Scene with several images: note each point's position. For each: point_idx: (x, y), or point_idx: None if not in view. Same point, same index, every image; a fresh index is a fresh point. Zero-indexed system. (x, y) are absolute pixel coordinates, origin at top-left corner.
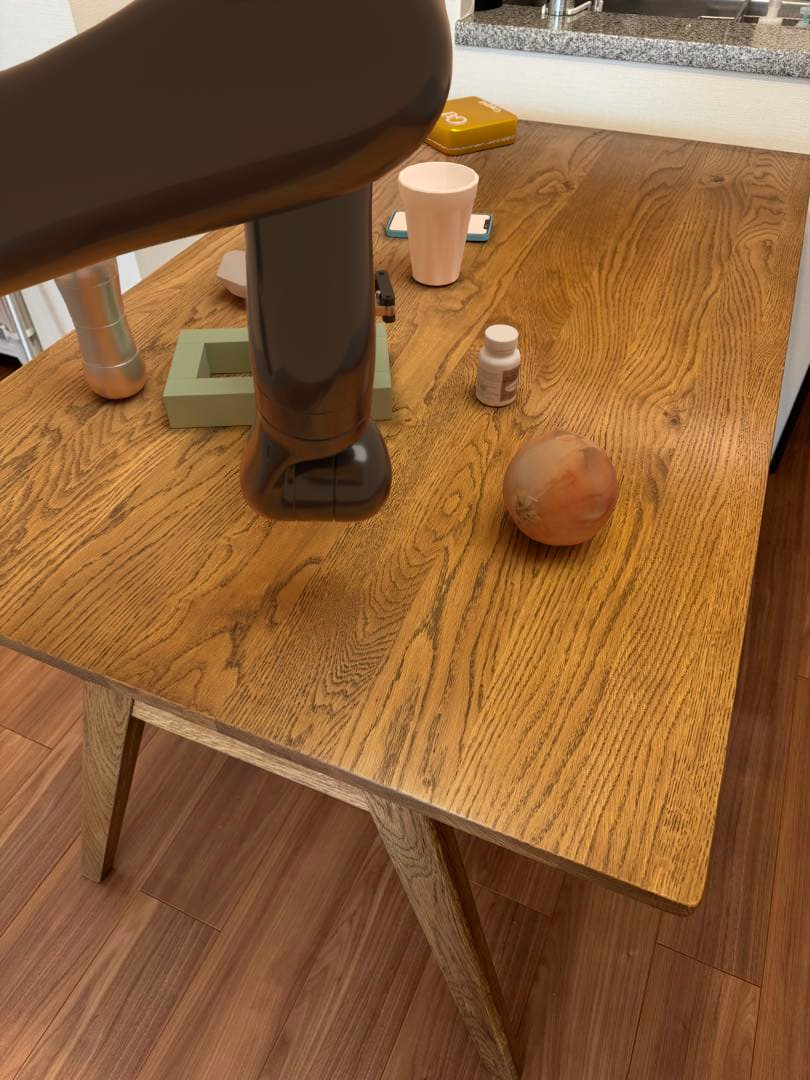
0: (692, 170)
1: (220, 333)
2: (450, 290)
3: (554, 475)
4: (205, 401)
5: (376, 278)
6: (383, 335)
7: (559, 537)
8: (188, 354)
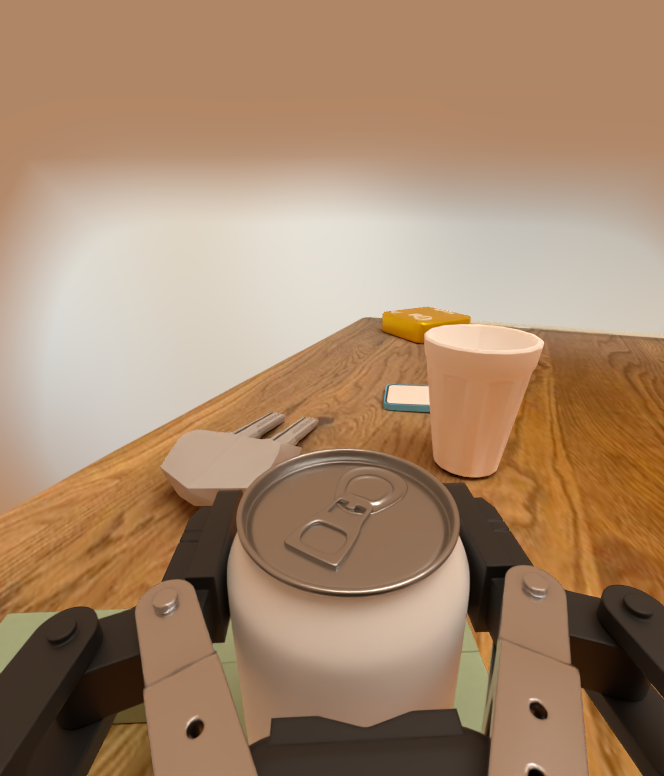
0: (642, 353)
1: None
2: (496, 484)
3: None
4: None
5: (641, 655)
6: (470, 647)
7: None
8: None
